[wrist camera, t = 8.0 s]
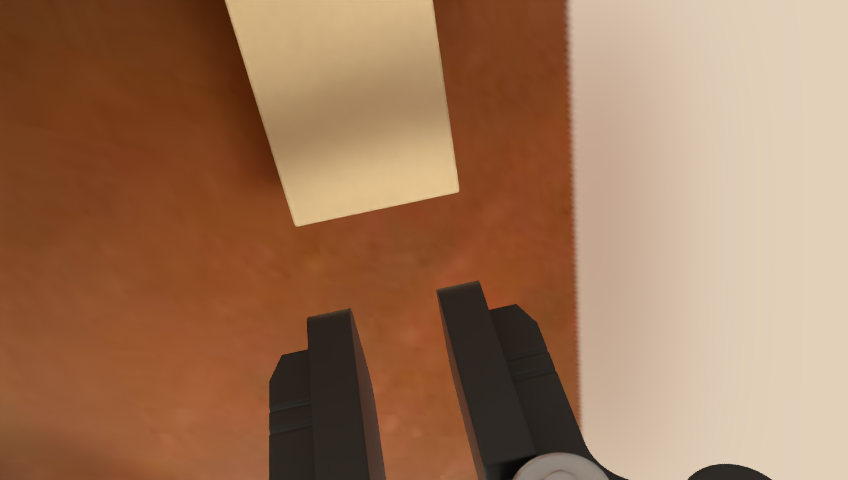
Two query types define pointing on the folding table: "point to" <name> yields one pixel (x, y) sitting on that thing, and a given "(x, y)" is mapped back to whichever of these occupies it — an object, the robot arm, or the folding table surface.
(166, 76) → the folding table surface
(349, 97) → the tan rectangular block
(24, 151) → the folding table surface
